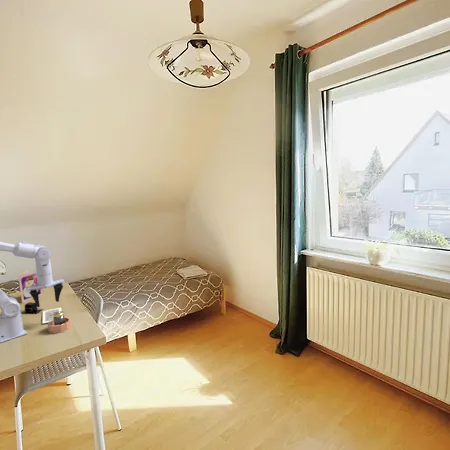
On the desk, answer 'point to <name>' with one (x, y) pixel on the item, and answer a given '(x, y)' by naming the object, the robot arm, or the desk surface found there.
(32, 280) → the greeting card
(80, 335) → the desk surface
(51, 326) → the peach round shallow bowl
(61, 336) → the desk surface
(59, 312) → the battery
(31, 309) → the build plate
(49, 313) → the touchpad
